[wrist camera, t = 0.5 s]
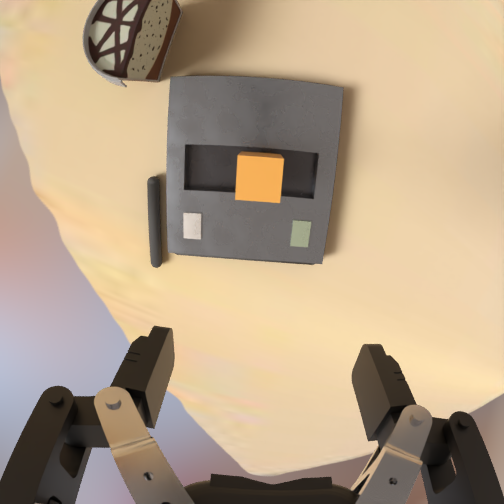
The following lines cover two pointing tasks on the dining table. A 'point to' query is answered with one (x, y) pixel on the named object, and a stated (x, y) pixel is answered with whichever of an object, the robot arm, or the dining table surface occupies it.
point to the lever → (259, 177)
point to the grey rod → (154, 221)
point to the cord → (245, 259)
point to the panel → (225, 166)
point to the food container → (130, 38)
